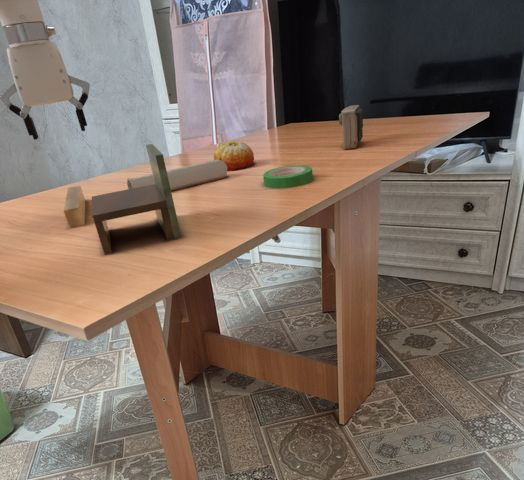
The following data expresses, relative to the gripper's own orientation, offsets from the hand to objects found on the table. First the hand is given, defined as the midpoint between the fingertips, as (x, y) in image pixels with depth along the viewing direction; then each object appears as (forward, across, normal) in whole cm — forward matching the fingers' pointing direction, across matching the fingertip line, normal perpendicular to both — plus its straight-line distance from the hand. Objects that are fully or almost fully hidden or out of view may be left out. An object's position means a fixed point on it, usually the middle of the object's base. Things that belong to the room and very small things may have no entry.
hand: (60, 134), depth 98 cm
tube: (+17, -23, -5) cm, 29 cm away
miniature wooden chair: (+16, -9, +27) cm, 33 cm away
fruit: (+17, -40, -17) cm, 47 cm away
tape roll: (+17, -45, +11) cm, 50 cm away
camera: (+17, -75, -16) cm, 79 cm away
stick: (+16, +2, 0) cm, 17 cm away
